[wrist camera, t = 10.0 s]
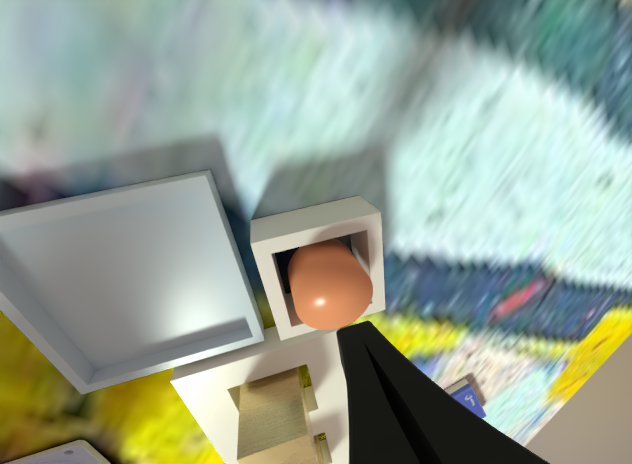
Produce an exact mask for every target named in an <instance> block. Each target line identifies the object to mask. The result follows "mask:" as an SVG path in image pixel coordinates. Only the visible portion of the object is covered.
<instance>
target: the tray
mask: <svg viewBox="0 0 632 464" xmlns="http://www.w3.org/2000/svg"><path fill="white" fill-rule="evenodd" d="M0 310H1V311H2V312H3V313H4V314H5V315H6V316H7V317H8V319H9V320H10V321H11V322H12V323H13V324H14V325H15V326H16V327H17V328H18V329H19V330H20V331H21V332H22V333H23V334H24V335H25V336H26V337H27V338H28V339H29V340H30V341H31V342H32V343H33V345H34V346H35V347H36V348H37V349H38V350H39V351H40V352H41V353H42V354H43V355H44V356H45V357H46V358H47V359H48V360H49V361H50V362H51V363H52V364H53V365H54V366H55V367H56V368H57V369H58V370H59V372H60V373H61V374H62V375H63V376H64V377H65V378H66V379H67V380H68V381H69V382H70V383H71V384H72V385H73V386H74V387H75V388H76V389H77V390H78V391H79V392H80V393H81V394H86V393H89V392H93V391H96V390H99V389H103V388H106V387H109V386H113V385H116V384H120V383H123V382H126V381H130V380H133V379H137V378H140V377H143V376H147V375H150V374H153V373H157V372H160V371H164V370H167V369H170V368H174V367H177V366H180V365H184V364H187V363H191V362H194V361H197V360H201V359H204V358H207V357H211V356H214V355H218V354H221V353H224V352H228V351H231V350H234V349H238V348H241V347H245V346H248V345H251V344H255V343H258V342H262V341H265V338H264V323H263V320H262V317H261V314H260V311H259V308H258V305H257V303H256V300H255V297H254V294H253V291H252V288H251V285H250V282H249V279H248V276H247V274H246V271H245V268H244V265H243V262H242V259H241V256H240V253H239V250H238V247H237V244H236V242H235V239H234V236H233V233H232V230H231V227H230V224H229V221H228V218H227V215H226V213H225V210H224V207H223V204H222V201H221V198H220V195H219V192H218V189H217V186H216V183H215V181H214V178H213V175H212V172H211V169H209V170H204V171H198V172H193V173H188V174H183V175H178V176H173V177H168V178H163V179H158V180H153V181H148V182H143V183H138V184H133V185H128V186H123V187H118V188H113V189H108V190H103V191H98V192H93V193H88V194H83V195H78V196H73V197H68V198H63V199H57V200H52V201H47V202H42V203H37V204H32V205H27V206H22V207H17V208H12V209H7V210H2V211H0Z"/></svg>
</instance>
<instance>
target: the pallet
mask: <svg viewBox="0 0 632 464" xmlns="http://www.w3.org/2000/svg"><path fill="white" fill-rule="evenodd" d="M339 329H340V328H337V329H332V330H319V329H318V330H315V331H312V332H308V333H305V334H302V335H298V336H295V337H292V338H288V339H285V340H282V341H281V339H280V336H279V333H278V330H277V327H276V326H273V327H270V328H267V329H264V338H265V341H262V342H258V343H255V344H251V345H248V346H245V347H241V348H238V349H234V350H231V351H228V352H224V353H221V354H218V355H214V356H211V357H207V358H204V359H201V360H197V361H194V362H191V363H187V364H184V365H180V366H177V367H174V371H173V374H172V377H171V380H170V382H171V383H172V385H173V386H174V388H175V389H176V391H177V392H178V394H179V395H180V397H181V398H182V400H183V401H184V403H185V404H186V406H187V407H188V409H189V410H190V412H191V413H192V415H193V416H194V418H195V419H196V421H197V422H198V424H199V425H200V427H201V428H202V430H203V431H204V433H205V434H206V436H207V437H208V439H209V440H210V442H211V443H212V445H213V446H214V447H215V449H216V450H217V452H218V453H219V455H220V456H221V458H222V459H223V461H224V462H225V464H239V463H238V461H237V444H238V423H239V402H240V385H242V384H245V383H248V382H251V381H254V380H257V379H261V378H264V377H267V376H270V375H273V374H276V373H280V372H283V371H286V370H289V369H292V368H295V367H299V366H302V365H305V364H307V367H308V371H309V375H310V379H311V383H312V385H311V386H308V387H305V388H304V390H305V395H306V400H307V405H308V411H309V416H310V421H311V427H312V432H313V436H315V435H318V434H320V433H323V432H325V435H326V439H324V440H322V441H320V444H321V449H322V454H323V459H324V464H349V418H348V399H347V385H346V379H345V375H344V371H343V367H342V364H341V359H340V353H339V347H338V341H337V335H336V332H337V331H338V330H339Z"/></svg>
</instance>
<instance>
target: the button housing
mask: <svg viewBox="0 0 632 464" xmlns="http://www.w3.org/2000/svg"><path fill="white" fill-rule="evenodd" d="M348 234H350V236H351V246H352V253H353V255H354V256H355V258H356V259H357V260H358V262H359V263H360V264H361V266H362V267H363V269H364V270H365V271H366V273H367V274H368V276H369V277H370V279H371V281H372V284H373V296H372V299H371V302H370V304H369V306H368V308H367V309H366V310H365V312H364V313H363V314H362V315H361V316H360V317H362V316H365V315H369V314H372V313H375V312H379V311H382V310H385V292H384V269H383V245H382V222H381V212H380V211H379V210H378V209H376V208H375V207H374V206H372V205H371V204H370V203H368V202H367V201H366V200H364V199H363V198H362V197H360V196H359V195H358V196H354V197H350V198H345V199H341V200H337V201H332V202H328V203H324V204H319V205H315V206H311V207H306V208H302V209H298V210H293V211H289V212H284V213H280V214H276V215H271V216H267V217H263V218H258V219H254V220H251V236H250V244H251V247H252V251H253V254H254V257H255V260H256V263H257V266H258V270H259V273H260V276H261V279H262V282H263V286H264V289H265V292H266V295H267V298H268V301H269V305H270V308H271V311H272V314H273V317H274V320H275V324H276V327H277V330H278V333H279V336H280V339H281V341H282V340H285V339H288V338H292V337H295V336H298V335H302V334H305V333H308V332H312V331H315V330H318V329H315V328H312V327H309V326H308V325H306V324H304V323H303V322H302V321H301V320H300V318H299V317H298V315H297V313H296V310H295V305H294V301H293V296H292V293H289V294H285V290H284V287H283V283H282V279H281V276H280V272H279V268H278V265H277V261H276V257H275V253H276V252H280V251H284V250H288V249H292V248H296V247H300V246H304V245H308V244H312V243H316V242H320V241H324V240H328V239H332V238H336V237H340V236H344V235H348Z"/></svg>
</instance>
